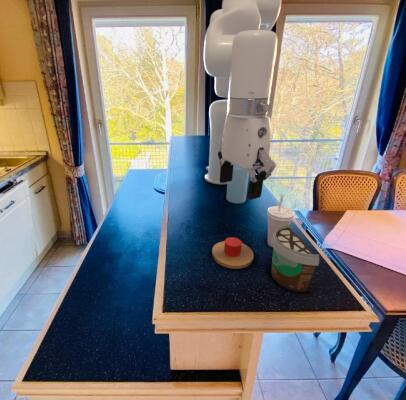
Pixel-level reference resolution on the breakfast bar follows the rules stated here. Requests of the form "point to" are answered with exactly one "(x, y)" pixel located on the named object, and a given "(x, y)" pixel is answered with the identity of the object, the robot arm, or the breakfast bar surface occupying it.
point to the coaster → (232, 262)
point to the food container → (292, 260)
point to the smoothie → (278, 218)
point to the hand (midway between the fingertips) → (238, 189)
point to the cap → (232, 247)
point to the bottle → (237, 185)
